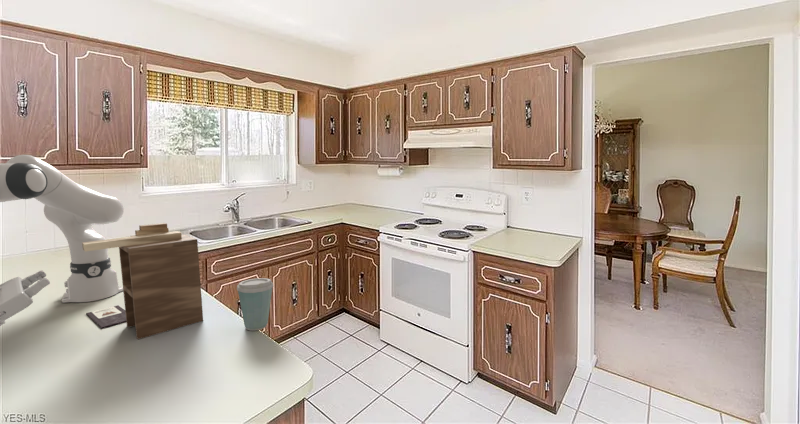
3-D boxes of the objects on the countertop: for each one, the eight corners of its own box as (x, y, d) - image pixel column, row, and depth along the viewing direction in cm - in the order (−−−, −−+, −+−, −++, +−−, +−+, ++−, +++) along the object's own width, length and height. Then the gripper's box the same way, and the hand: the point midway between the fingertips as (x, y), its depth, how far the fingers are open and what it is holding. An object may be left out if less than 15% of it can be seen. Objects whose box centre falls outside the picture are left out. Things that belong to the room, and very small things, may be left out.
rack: (126, 326, 119) (116, 227, 115) (189, 310, 132) (182, 220, 128) (137, 339, 110) (127, 232, 106) (203, 320, 123) (196, 224, 119)
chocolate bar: (101, 327, 117) (86, 313, 128) (101, 330, 117) (86, 315, 128) (135, 318, 124) (118, 305, 135) (135, 320, 124) (118, 307, 135)
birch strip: (82, 249, 106) (82, 242, 105) (178, 237, 123) (177, 231, 123) (84, 251, 103) (84, 244, 103) (181, 238, 121) (181, 232, 120)
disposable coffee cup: (233, 326, 119) (230, 280, 117) (266, 316, 126) (264, 273, 124) (247, 337, 111) (244, 288, 109) (281, 326, 119) (279, 280, 117)
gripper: (-31, 317, 83) (39, 275, 91) (-28, 295, 97) (33, 260, 105) (-7, 336, 86) (60, 294, 94) (-7, 312, 100) (51, 277, 108)
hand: (46, 276), depth 99 cm, fingers open, 8 cm apart
